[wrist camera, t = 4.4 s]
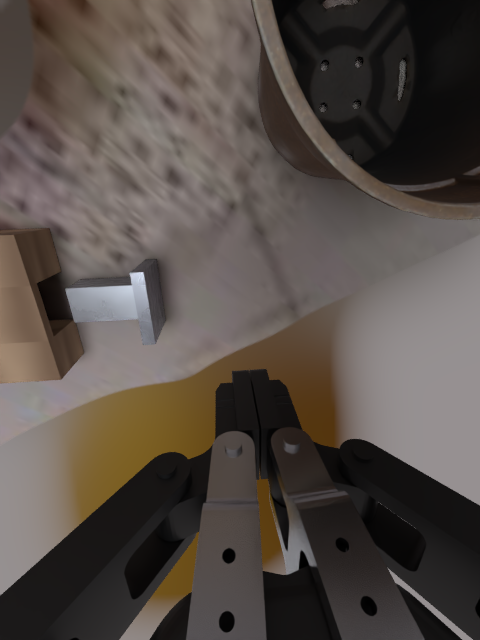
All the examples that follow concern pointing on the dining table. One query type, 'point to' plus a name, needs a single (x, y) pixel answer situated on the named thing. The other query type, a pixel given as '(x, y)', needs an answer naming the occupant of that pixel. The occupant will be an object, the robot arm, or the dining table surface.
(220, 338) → the dining table surface
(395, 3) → the plant pot
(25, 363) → the block
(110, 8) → the dining table surface
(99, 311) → the steel block
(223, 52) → the dining table surface
